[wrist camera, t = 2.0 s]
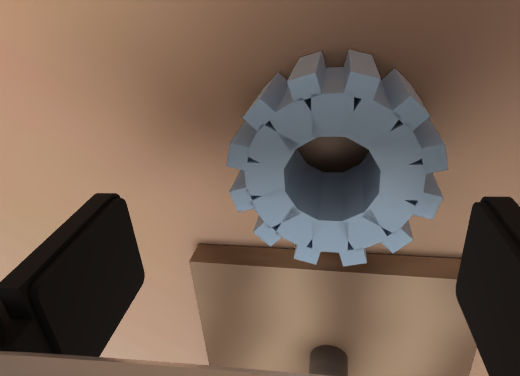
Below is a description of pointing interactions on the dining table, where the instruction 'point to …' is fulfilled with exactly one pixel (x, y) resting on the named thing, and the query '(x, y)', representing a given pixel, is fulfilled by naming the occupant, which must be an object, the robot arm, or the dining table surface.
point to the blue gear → (333, 183)
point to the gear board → (331, 313)
